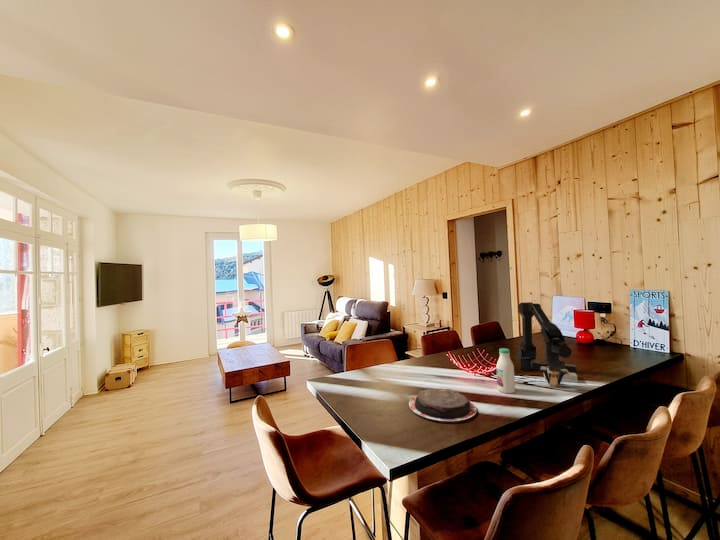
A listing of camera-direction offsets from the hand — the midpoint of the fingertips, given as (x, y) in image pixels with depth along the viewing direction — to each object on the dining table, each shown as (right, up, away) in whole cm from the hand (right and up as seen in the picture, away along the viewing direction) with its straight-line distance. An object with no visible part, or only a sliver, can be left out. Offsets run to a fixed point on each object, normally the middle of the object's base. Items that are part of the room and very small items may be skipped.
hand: (553, 383), depth 144 cm
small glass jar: (0, -1, 0) cm, 1 cm away
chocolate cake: (-62, -3, -20) cm, 65 cm away
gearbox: (+10, -1, +10) cm, 15 cm away
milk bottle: (-26, -2, -4) cm, 26 cm away
